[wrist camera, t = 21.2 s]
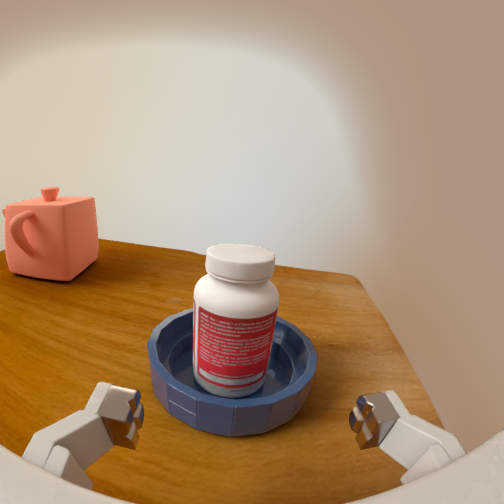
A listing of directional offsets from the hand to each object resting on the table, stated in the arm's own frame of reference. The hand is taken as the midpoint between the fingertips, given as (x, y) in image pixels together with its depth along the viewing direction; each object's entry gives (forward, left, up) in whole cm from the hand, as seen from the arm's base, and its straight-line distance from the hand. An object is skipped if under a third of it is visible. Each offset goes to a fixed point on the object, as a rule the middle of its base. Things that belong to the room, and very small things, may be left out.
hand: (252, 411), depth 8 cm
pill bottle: (0, -11, -9) cm, 14 cm away
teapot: (+34, -31, -9) cm, 47 cm away
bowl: (0, -11, -9) cm, 15 cm away
